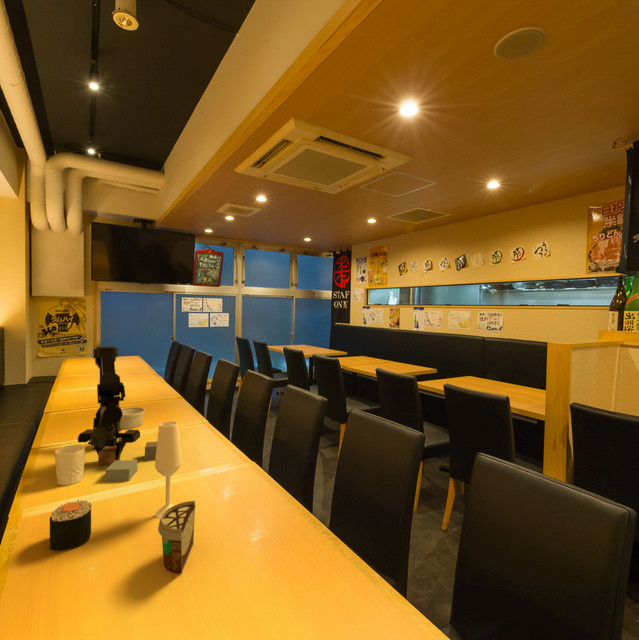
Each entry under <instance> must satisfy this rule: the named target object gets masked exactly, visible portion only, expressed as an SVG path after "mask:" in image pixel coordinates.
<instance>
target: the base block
mask: <svg viewBox="0 0 639 640" xmlns="http://www.w3.org/2000/svg"><path fill="white" fill-rule="evenodd" d="M137 472H138V459H129V460H128V459H125V460H123V459H120V460H117V461H114V462H113V463H112V464H111V465H110V466H107V468H106V469H105V482H130V481H131V479H132V478H133V477H134V476H135V474H137Z"/></svg>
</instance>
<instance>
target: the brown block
mask: <svg viewBox="0 0 639 640" xmlns="http://www.w3.org/2000/svg"><path fill="white" fill-rule="evenodd" d="M156 449H157V441H150V442H149V441H146V443H145V446H144V462H149V461H150V462H151V461H155V458H156Z"/></svg>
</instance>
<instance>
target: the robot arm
mask: <svg viewBox="0 0 639 640" xmlns="http://www.w3.org/2000/svg"><path fill="white" fill-rule="evenodd" d="M118 357H119V348H118V347H115V346H112V345H110V346H109V345H107V346H96V348H93V349H92V359H94V365H96V366H97V368H98V369H99V380H98V381H99V382H98V384H96V394H97V395H96V396H97V404H99V408H98V409H97V411H96V412H95V417H94V418H93V422H92V428H90V429H88V428H87V429H86V430H84V431H81V433H79V434H78V436H77V443H87V445H89V446H92V447H93V448H92V450H95V451H96V454H97V455H98V452H99V451H100V450H102V449H103V448H104V447H106V446H116V461H117V460H119V458H120V459H121V456H122V452H123V450H124V449H125V447H126V445H127V444H131V443H132V444H133V443H135V442H136V441H137V440H138V439H139V438H141V431H140V430H139V429H127V430H126V431H124V432H121V430H122V429H121V428H120V421H121V417H122V410H121V407H120V406H121V405H120V402H124V401H125V400H124V398H126V391H125V385H124V383H123V382H121V377H120V375H118V374H117V373H116V366H115V364H116V363H115V362H116V361H117V360H116V358H118Z"/></svg>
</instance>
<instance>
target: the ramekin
mask: <svg viewBox="0 0 639 640" xmlns="http://www.w3.org/2000/svg"><path fill="white" fill-rule="evenodd" d="M120 408H121V407H120ZM121 410H122V417H121V421H120V428H121V430H133V429H136V428H139V427H141V426H142V425H143V423H144V419H145V412H146V409H145V407H141V406H129V407H128V406H127V407H123V408H121Z"/></svg>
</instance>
